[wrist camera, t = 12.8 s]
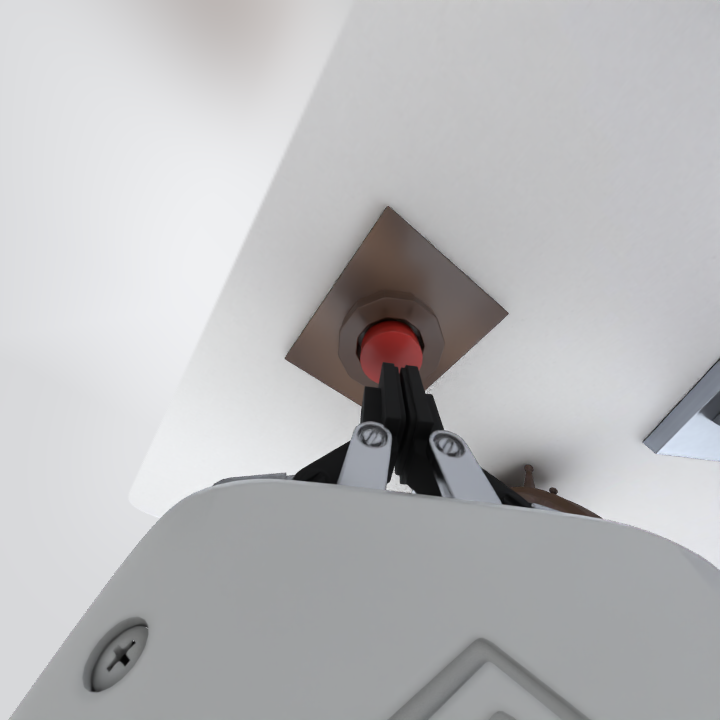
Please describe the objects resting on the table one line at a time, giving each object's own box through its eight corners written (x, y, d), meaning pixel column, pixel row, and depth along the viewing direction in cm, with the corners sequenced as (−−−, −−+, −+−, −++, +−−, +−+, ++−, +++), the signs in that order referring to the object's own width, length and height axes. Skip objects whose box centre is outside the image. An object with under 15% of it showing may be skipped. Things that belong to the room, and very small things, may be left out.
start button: (385, 308, 15) (386, 318, 13) (430, 342, 16) (436, 355, 14) (350, 351, 16) (347, 364, 15) (393, 380, 17) (394, 395, 16)
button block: (387, 205, 14) (389, 203, 12) (504, 310, 17) (524, 323, 15) (286, 354, 19) (275, 371, 17) (388, 418, 22) (390, 440, 20)
